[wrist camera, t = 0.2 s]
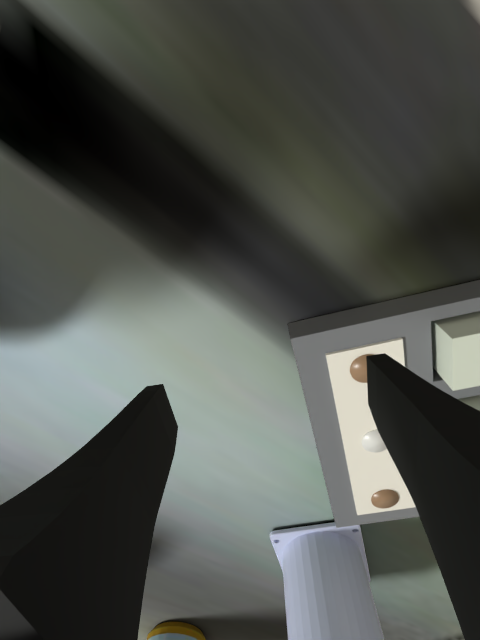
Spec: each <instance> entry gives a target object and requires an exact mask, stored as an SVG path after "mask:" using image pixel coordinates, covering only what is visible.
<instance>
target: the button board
mask: <svg viewBox="0 0 480 640" xmlns="http://www.w3.org/2000/svg"><path fill="white" fill-rule="evenodd" d="M477 311H480V280H477V281H472V282H468V283H464V284H459V285H455V286H450V287H446V288H442V289H437V290H433V291H428V292H424V293H420V294H415V295H411V296H407V297H402V298H398V299H393V300H389V301H385V302H380V303H376V304H371V305H367V306H363V307H358V308H354V309H349V310H345V311H341V312H336V313H332V314H327V315H323V316H319V317H314V318H310V319H306V320H301V321H297V322H292V323H288V329H289V334H290V339H291V343H292V347H293V351H294V355H295V359H296V363H297V367H298V372H299V376H300V380H301V384H302V388H303V392H304V396H305V400H306V405H307V409H308V413H309V417H310V421H311V425H312V429H313V434H314V438H315V442H316V446H317V450H318V454H319V458H320V462H321V467H322V471H323V475H324V479H325V483H326V487H327V491H328V495H329V500H330V504H331V508H332V512H333V516H334V520H335V524H336V528H339V527H347V526H354V525H361V524H369V523H376V522H383V521H391V520H398V519H406V518H413V517H420V516H419V514H418V511H417V509H416V506H415V504H414V502H413V500H412V497H411V495H410V493H409V491H408V489H407V487H406V485H405V483H404V481H403V479H402V477H401V475H400V473H399V471H398V469H397V467H396V465H395V463H394V462H393V460H392V458H391V456H390V454H389V452H388V450H387V448H386V446H385V444H384V442H383V440H382V438H381V436H380V434H379V432H378V430H377V427H376V424H375V422H374V419H373V416H372V413H371V411H370V408H369V405H368V388H367V361H366V356H369V355H376V354H384V353H385V354H387V355H388V356H390V357H391V358H393V359H394V360H396V361H397V362H399V363H400V364H402V365H403V366H404V367H406V368H407V369H409V370H410V371H412V372H413V373H415V374H416V375H418V376H419V377H421V378H423V379H424V380H426V381H427V382H429V383H430V384H432V385H434V386H435V387H437V388H439V389H440V390H442V391H444V392H445V393H447V394H449V395H451V396H453V397H454V398H456V399H460V398H465V397H471V396H476V395H480V386H476V387H471V388H465V389H460V390H455V391H453V390H452V389H451V388H450V387H449V386H448V385H447V383H446V382H445V381H444V380H443V379H442V377H441V376H440V375H439V374H438V373H437V371H436V370H435V369H434V368H433V361H432V339H431V321H435V320H440V319H444V318H449V317H453V316H458V315H463V314H467V313H472V312H477Z"/></svg>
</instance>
